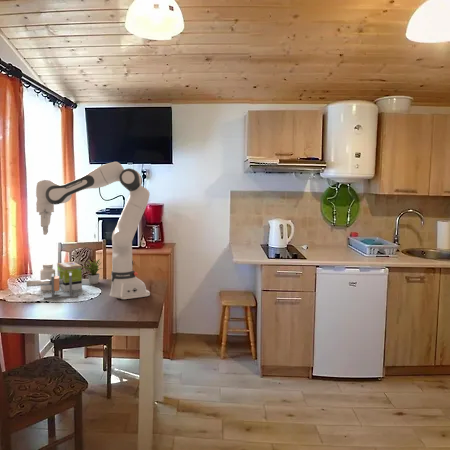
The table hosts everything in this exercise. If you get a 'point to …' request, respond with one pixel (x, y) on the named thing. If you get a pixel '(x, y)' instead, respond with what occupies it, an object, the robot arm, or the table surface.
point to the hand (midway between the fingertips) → (45, 233)
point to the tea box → (64, 274)
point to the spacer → (56, 283)
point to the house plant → (93, 272)
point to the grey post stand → (61, 294)
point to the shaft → (42, 283)
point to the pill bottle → (47, 275)
